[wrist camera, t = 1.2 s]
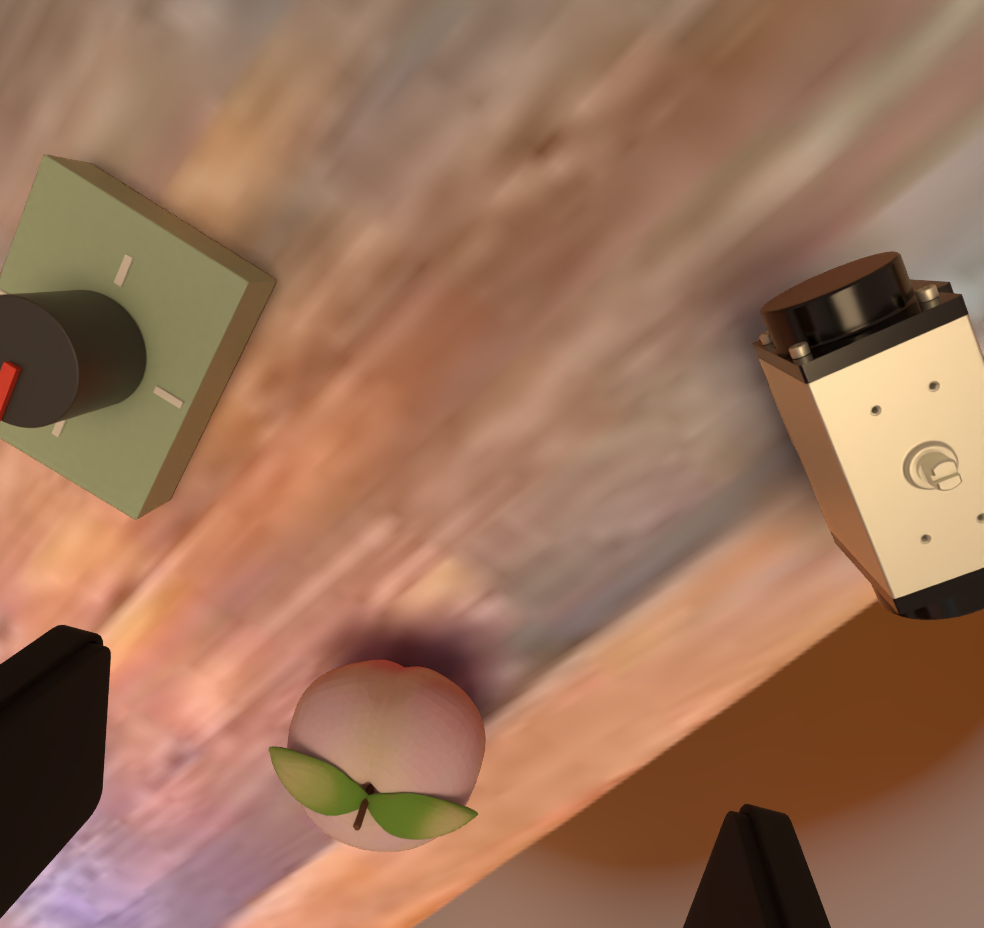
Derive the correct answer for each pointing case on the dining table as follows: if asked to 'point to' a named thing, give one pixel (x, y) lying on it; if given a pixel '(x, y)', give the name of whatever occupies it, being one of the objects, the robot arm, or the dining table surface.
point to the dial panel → (157, 313)
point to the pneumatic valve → (887, 426)
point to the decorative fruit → (383, 755)
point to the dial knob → (65, 356)
